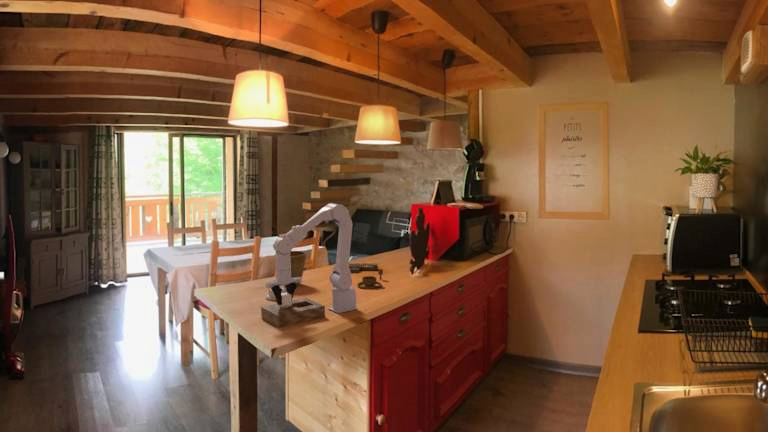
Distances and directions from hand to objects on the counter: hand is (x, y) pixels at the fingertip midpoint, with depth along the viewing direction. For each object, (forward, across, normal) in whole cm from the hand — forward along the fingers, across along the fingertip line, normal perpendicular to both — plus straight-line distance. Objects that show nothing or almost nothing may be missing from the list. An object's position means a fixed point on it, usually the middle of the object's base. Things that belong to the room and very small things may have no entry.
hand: (284, 303), depth 187 cm
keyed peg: (+5, 0, 0) cm, 5 cm away
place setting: (+7, -60, -21) cm, 64 cm away
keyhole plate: (+6, -4, 0) cm, 7 cm away
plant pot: (+6, -28, -48) cm, 56 cm away
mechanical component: (+7, -11, -31) cm, 33 cm away
